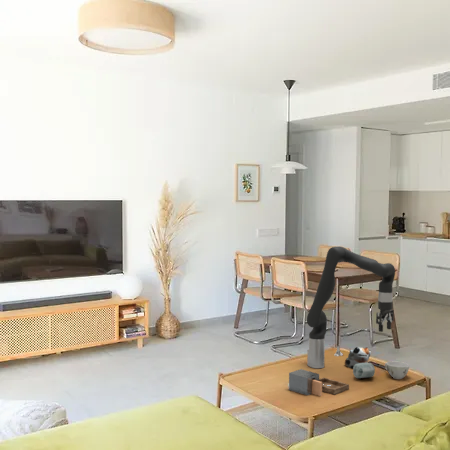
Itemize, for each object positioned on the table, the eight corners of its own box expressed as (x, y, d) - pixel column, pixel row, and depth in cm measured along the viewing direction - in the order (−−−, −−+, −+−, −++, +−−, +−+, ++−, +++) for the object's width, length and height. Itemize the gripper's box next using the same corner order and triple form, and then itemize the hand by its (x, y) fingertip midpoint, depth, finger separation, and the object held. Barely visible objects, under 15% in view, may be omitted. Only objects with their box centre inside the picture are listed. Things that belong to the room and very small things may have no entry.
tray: (309, 387, 290) (309, 382, 290) (324, 382, 299) (324, 377, 299) (334, 395, 278) (334, 390, 278) (348, 389, 287) (349, 384, 287)
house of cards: (345, 361, 343) (345, 348, 343) (332, 358, 347) (332, 347, 347) (349, 357, 350) (350, 346, 350) (336, 355, 355) (337, 344, 355)
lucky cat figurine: (365, 364, 334) (366, 342, 333) (373, 371, 322) (374, 348, 321) (342, 364, 332) (343, 342, 331) (349, 371, 320) (350, 348, 319)
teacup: (413, 378, 307) (414, 364, 306) (399, 382, 300) (399, 368, 299) (391, 372, 319) (392, 358, 319) (377, 375, 312) (378, 361, 312)
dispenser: (288, 389, 286) (289, 372, 286) (300, 385, 293) (301, 369, 293) (307, 395, 277) (307, 378, 277) (319, 391, 284) (319, 374, 284)
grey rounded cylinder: (359, 379, 297) (364, 361, 299) (347, 374, 306) (352, 357, 307) (375, 384, 304) (380, 367, 305) (363, 379, 312) (368, 362, 314)
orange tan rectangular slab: (304, 391, 284) (304, 378, 284) (306, 390, 285) (306, 377, 285) (320, 396, 277) (320, 382, 276) (322, 395, 278) (322, 382, 277)
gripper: (385, 298, 301) (385, 327, 302) (372, 301, 291) (371, 331, 292) (398, 299, 296) (397, 329, 296) (384, 302, 286) (384, 333, 286)
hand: (384, 330), depth 294 cm, fingers open, 8 cm apart
